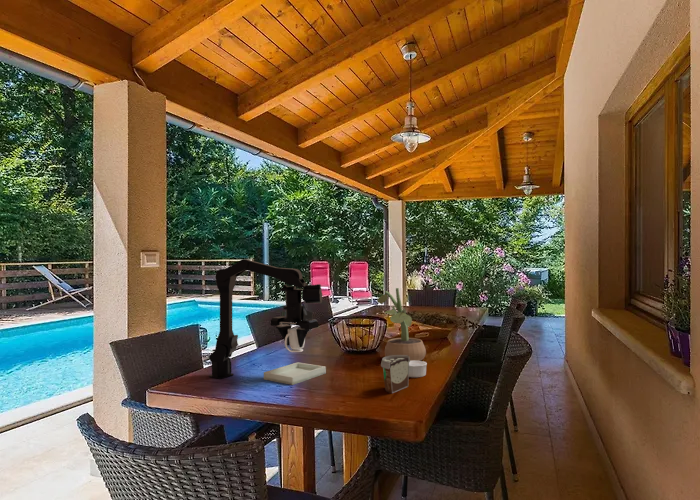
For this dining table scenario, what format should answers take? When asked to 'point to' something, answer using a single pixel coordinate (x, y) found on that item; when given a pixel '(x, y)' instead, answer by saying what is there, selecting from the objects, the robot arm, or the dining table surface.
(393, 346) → the potted plant
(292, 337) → the cup
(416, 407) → the dining table surface
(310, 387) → the dining table surface
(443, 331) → the dining table surface
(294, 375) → the tray
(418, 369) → the ramekin
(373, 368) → the dining table surface
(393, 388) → the food container
